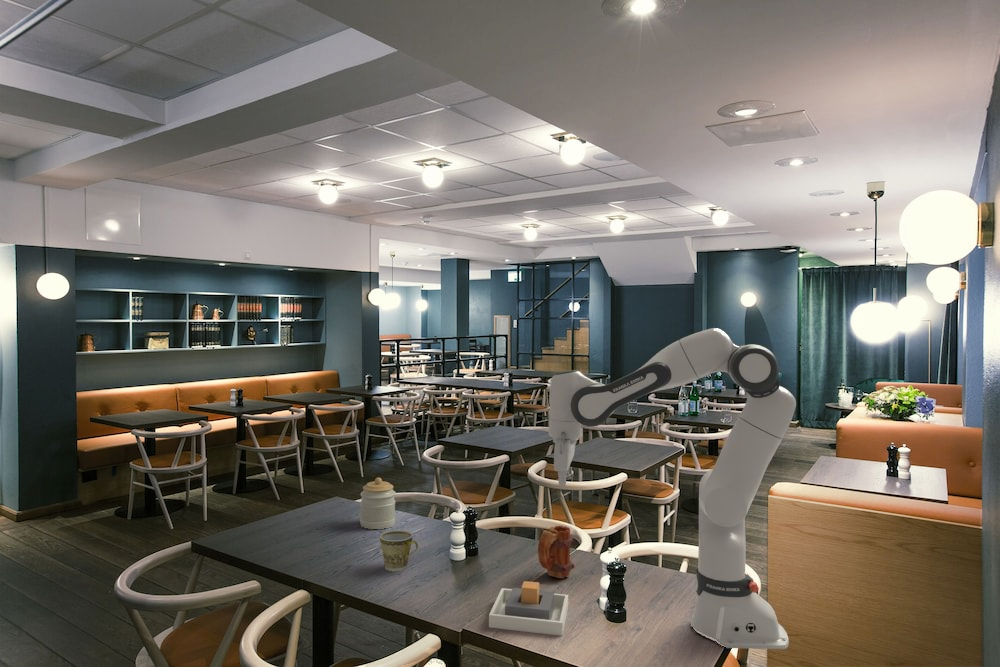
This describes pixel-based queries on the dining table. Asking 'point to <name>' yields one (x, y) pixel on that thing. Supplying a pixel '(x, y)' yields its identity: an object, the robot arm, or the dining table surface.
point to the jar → (377, 505)
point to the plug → (530, 592)
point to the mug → (556, 551)
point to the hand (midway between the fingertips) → (564, 480)
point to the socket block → (530, 605)
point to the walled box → (529, 624)
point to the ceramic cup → (396, 549)
